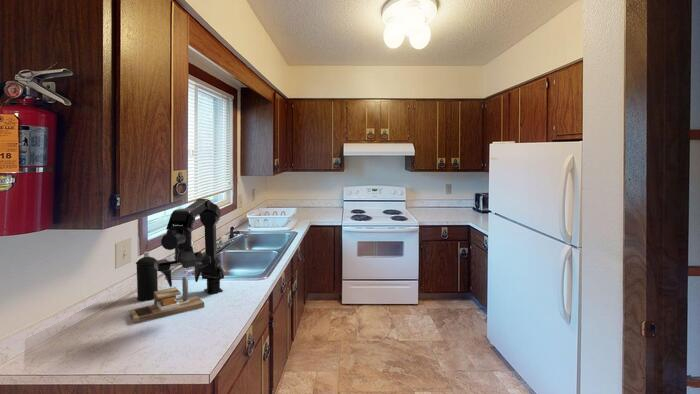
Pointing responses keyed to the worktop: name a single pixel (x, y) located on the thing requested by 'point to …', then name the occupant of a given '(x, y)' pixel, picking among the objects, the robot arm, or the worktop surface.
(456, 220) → the worktop surface
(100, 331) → the worktop surface
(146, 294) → the aerosol can
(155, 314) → the tan piece
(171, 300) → the block
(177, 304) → the sled
